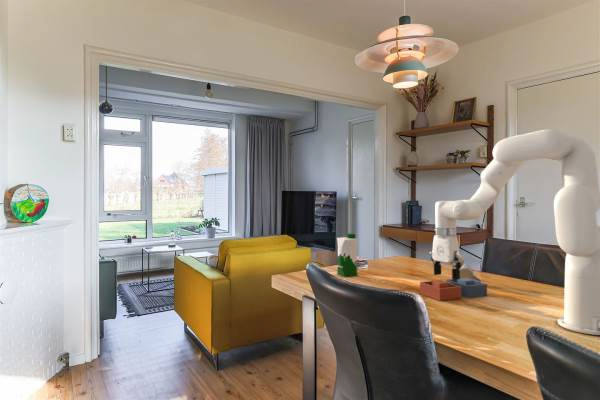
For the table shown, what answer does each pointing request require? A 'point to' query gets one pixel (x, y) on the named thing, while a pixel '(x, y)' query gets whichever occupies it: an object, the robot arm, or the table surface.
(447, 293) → the terracotta bin
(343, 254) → the milk carton
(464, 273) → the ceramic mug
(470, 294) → the slate bin
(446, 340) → the table surface
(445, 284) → the terracotta block
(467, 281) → the slate block
